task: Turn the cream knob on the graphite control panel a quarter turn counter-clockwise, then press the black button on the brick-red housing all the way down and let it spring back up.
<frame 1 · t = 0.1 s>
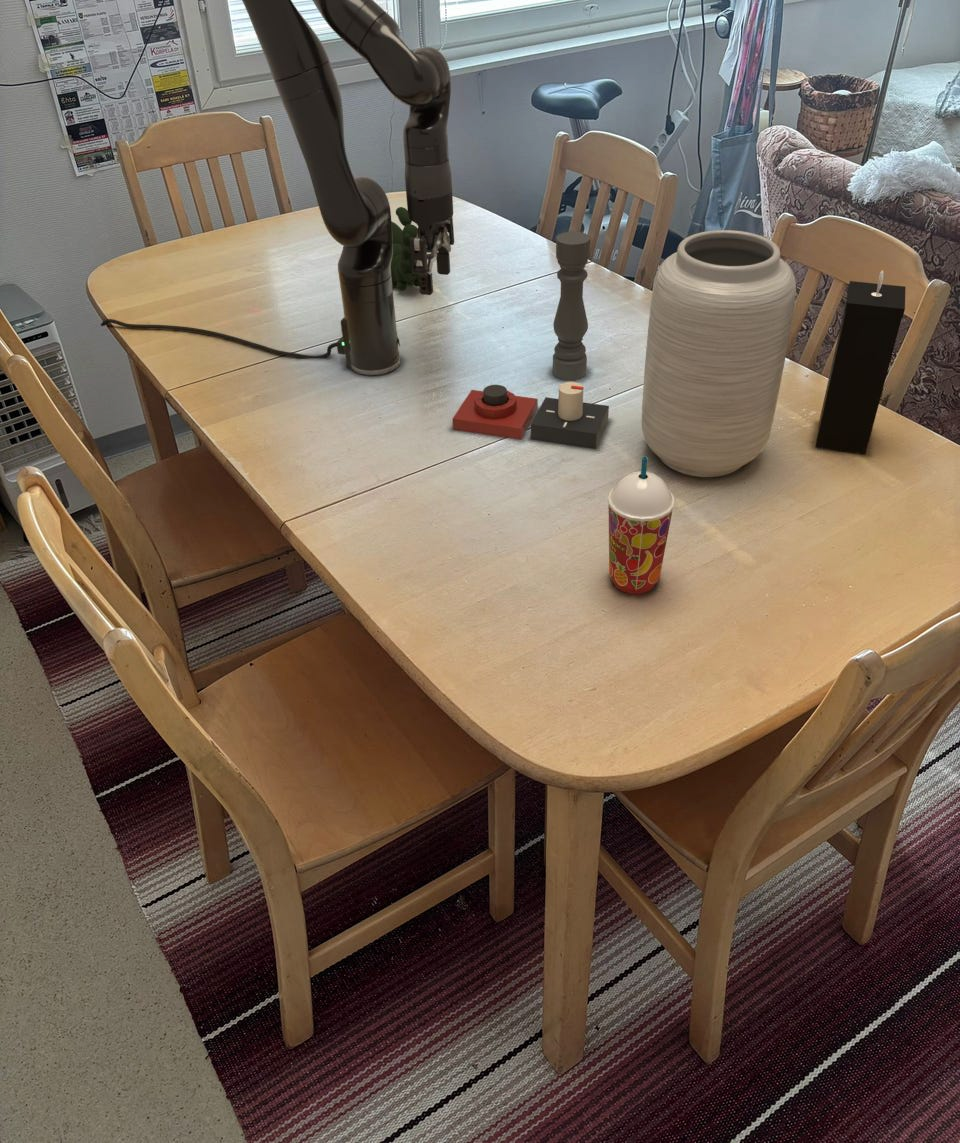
hand: (435, 283, 167), 17 cm above the table, tool pointing down, fingers open, 8 cm apart
dark green lumpy figure: (396, 280, 211), on the table
black pillar candle: (841, 440, 156), on the table
vase: (701, 453, 155), on the table
candle holder: (569, 373, 176), on the table
smoothie: (633, 582, 131), on the table
button: (495, 395, 162), point 5 cm above the table, slide at 0.1 cm
control panel: (569, 430, 161), on the table
knob: (570, 400, 158), point 6 cm above the table, hinge at 0.0°
button housing: (495, 419, 165), on the table
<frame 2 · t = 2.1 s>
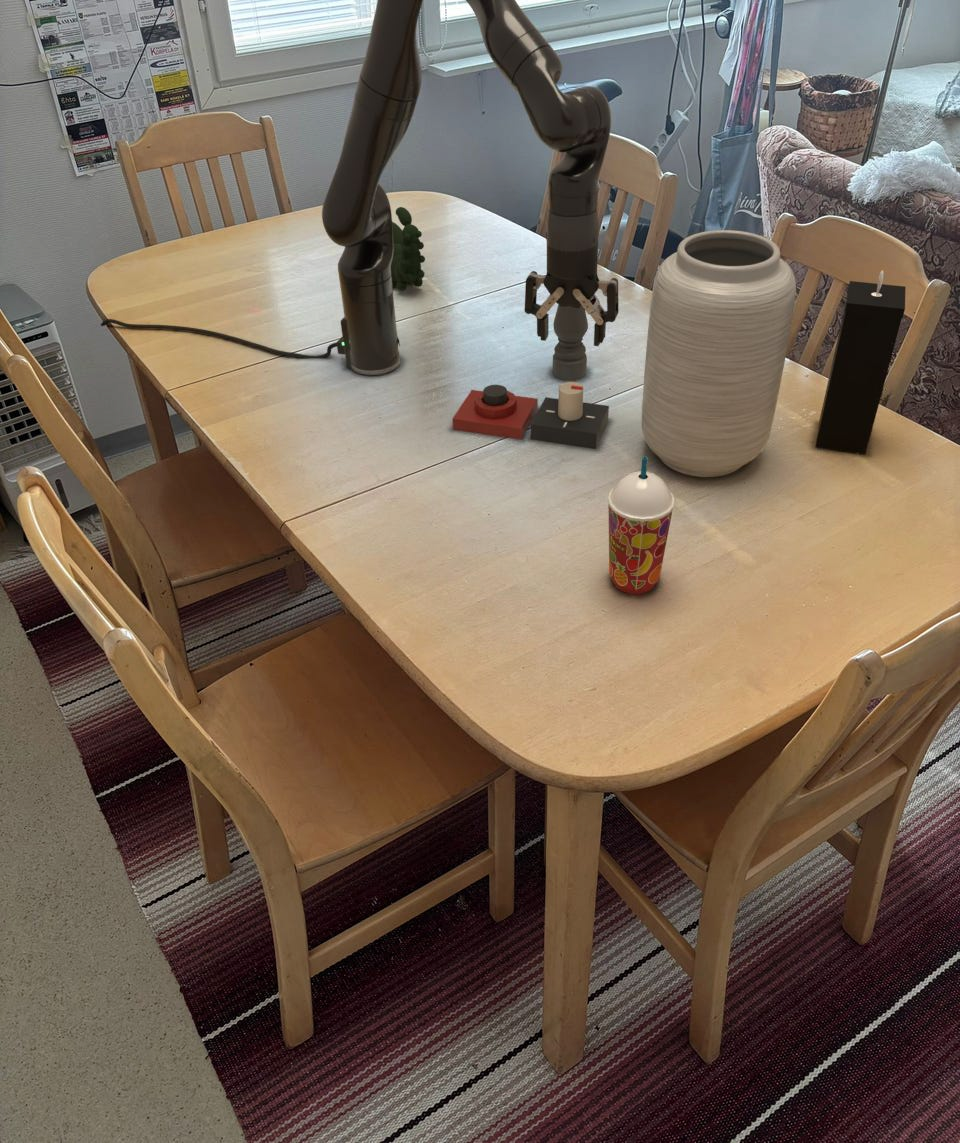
hand: (570, 341, 151), 16 cm above the table, tool pointing down, fingers open, 8 cm apart
nothing on the table moved.
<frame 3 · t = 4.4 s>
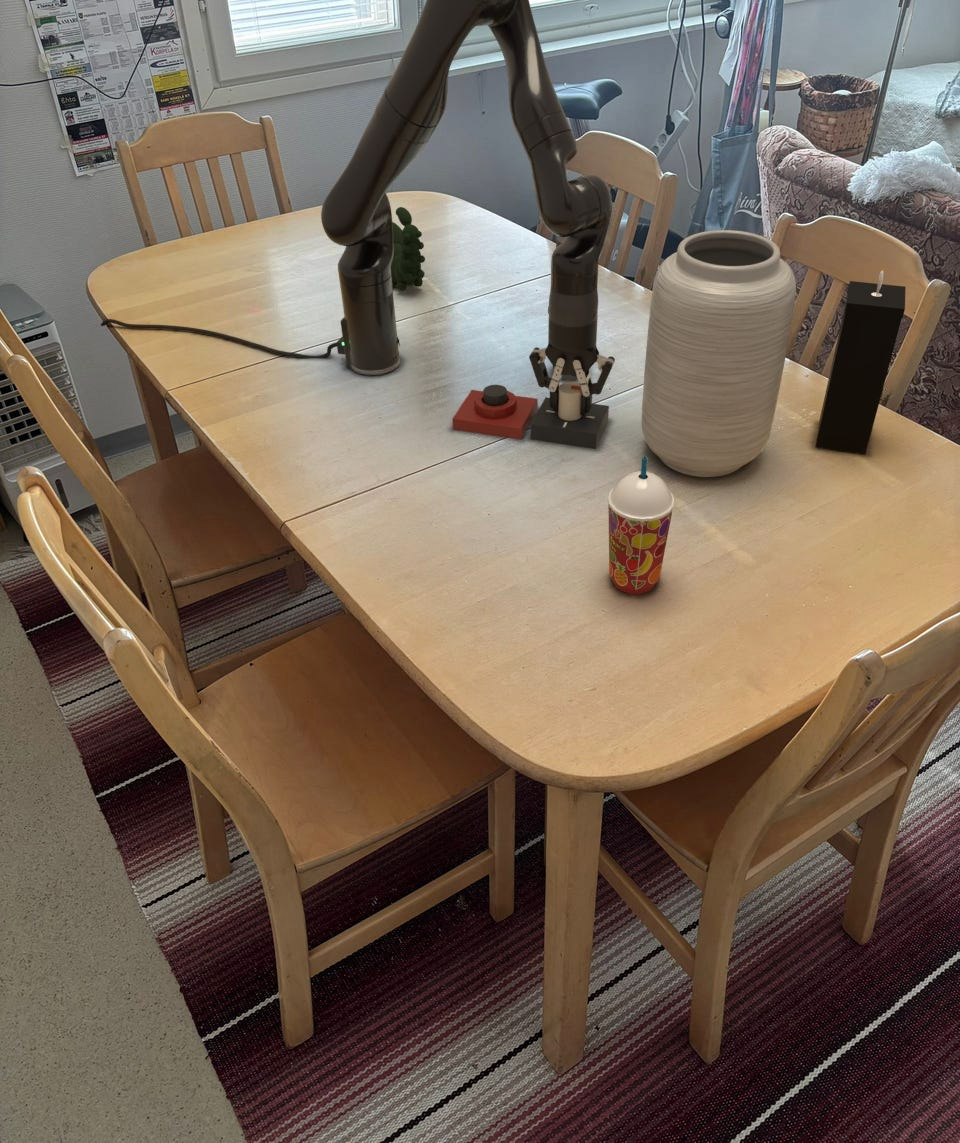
hand: (570, 410, 159), 4 cm above the table, tool pointing down, fingers closed on knob, 4 cm apart
knob: (570, 400, 158), point 6 cm above the table, hinge at -0.1°, touching gripper
everything else where it was.
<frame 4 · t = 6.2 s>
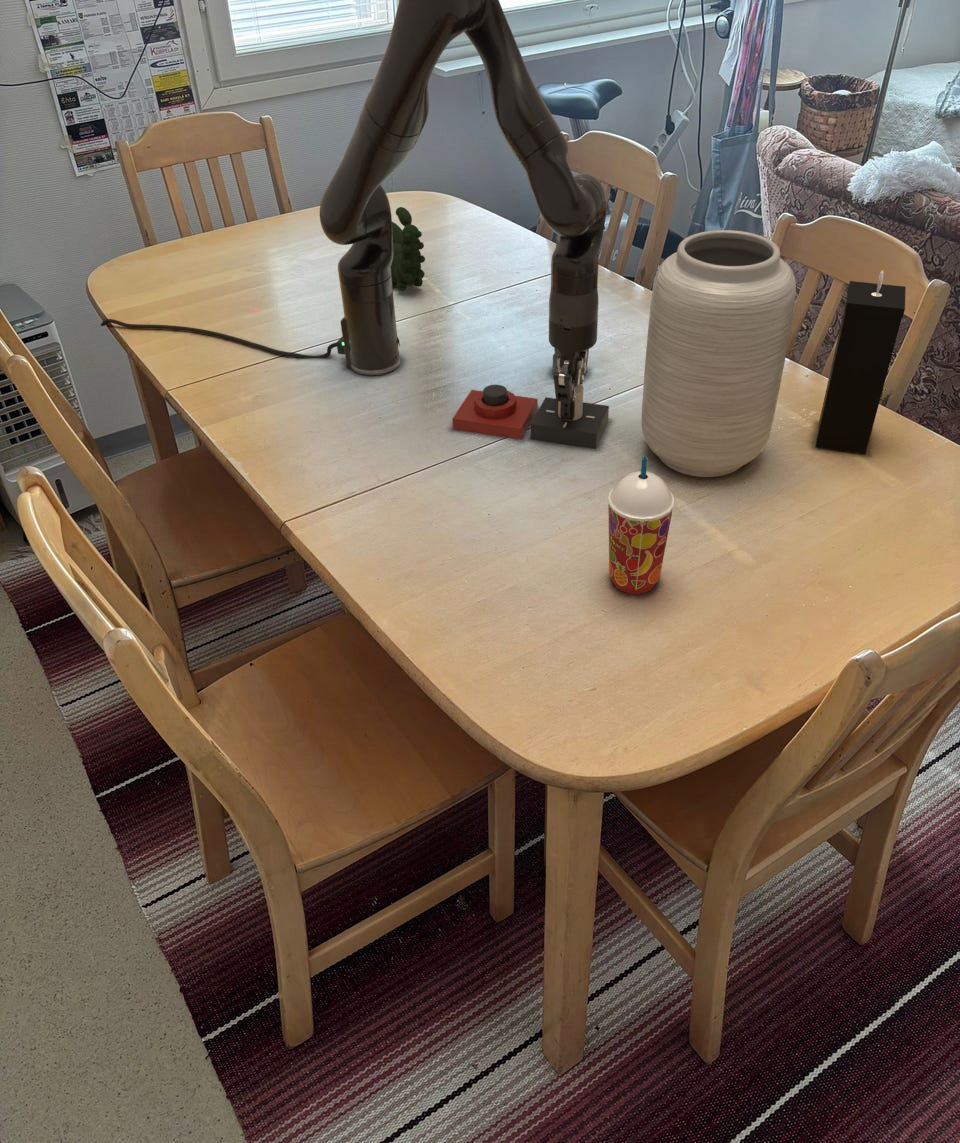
hand: (570, 411, 159), 4 cm above the table, tool pointing down, fingers closed on knob, 4 cm apart
knob: (570, 400, 158), point 6 cm above the table, hinge at 91.6°, touching gripper
everything else where it was.
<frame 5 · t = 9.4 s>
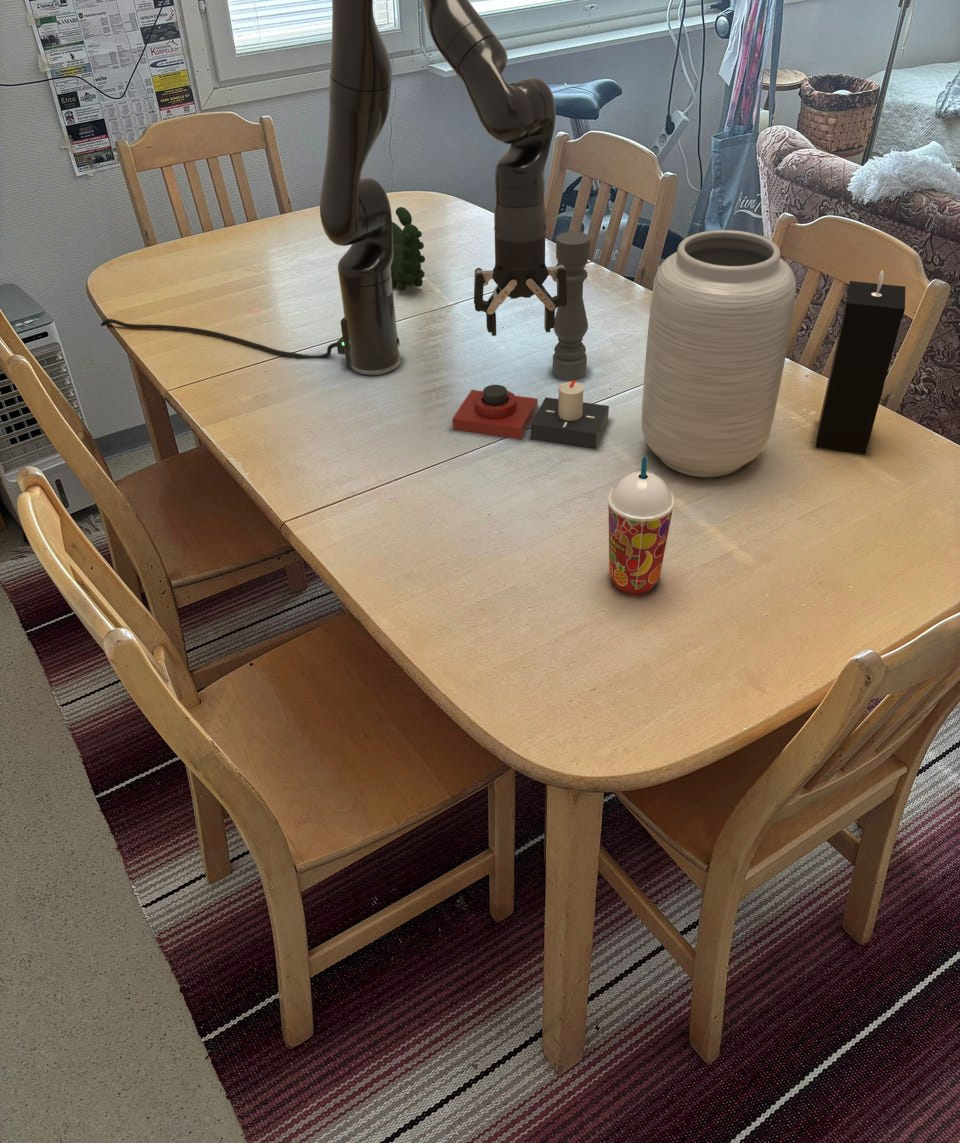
hand: (520, 331, 152), 17 cm above the table, tool pointing down, fingers open, 8 cm apart
knob: (570, 400, 158), point 6 cm above the table, hinge at 91.4°
everything else where it was.
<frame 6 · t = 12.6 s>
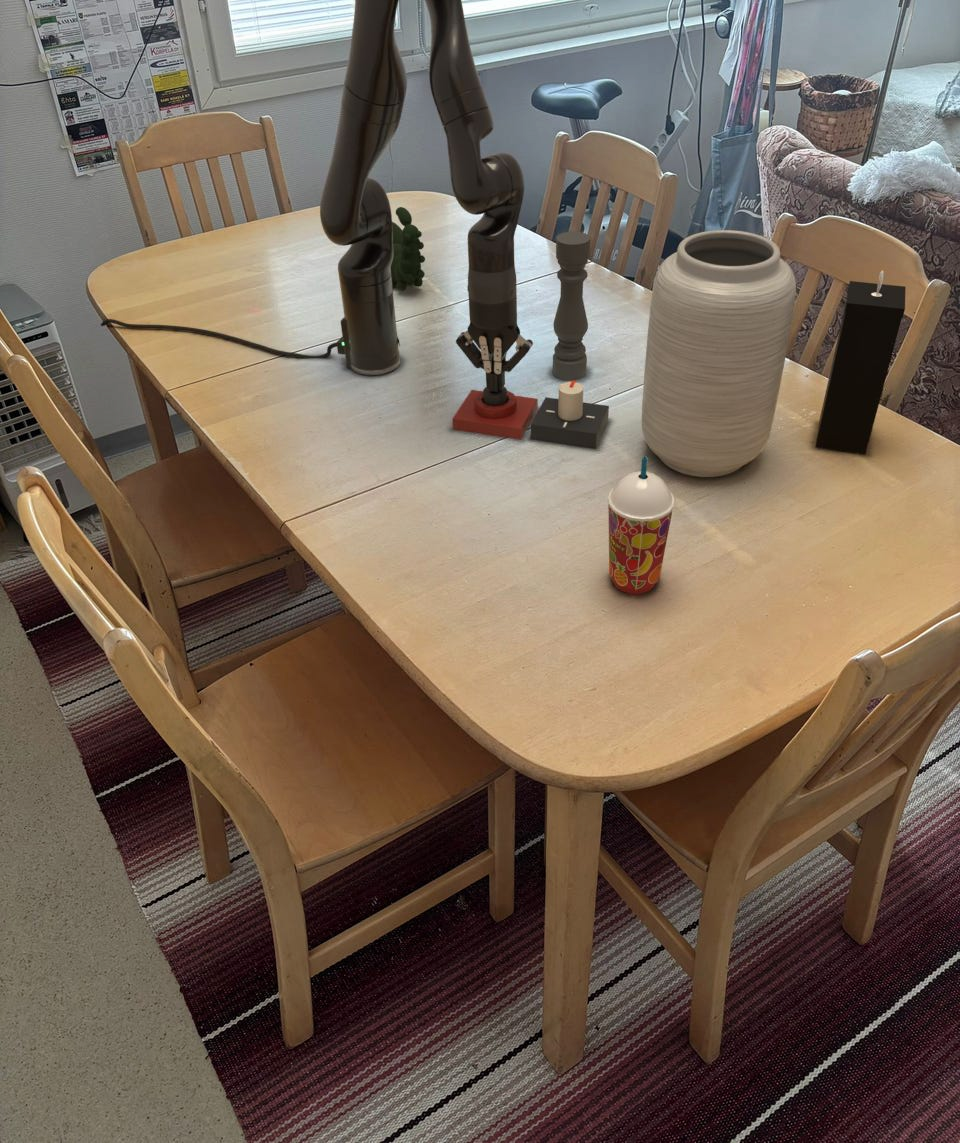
hand: (495, 390, 161), 6 cm above the table, tool pointing down, fingers closed
button: (495, 395, 162), point 5 cm above the table, slide at 0.1 cm, touching gripper
everything else where it was.
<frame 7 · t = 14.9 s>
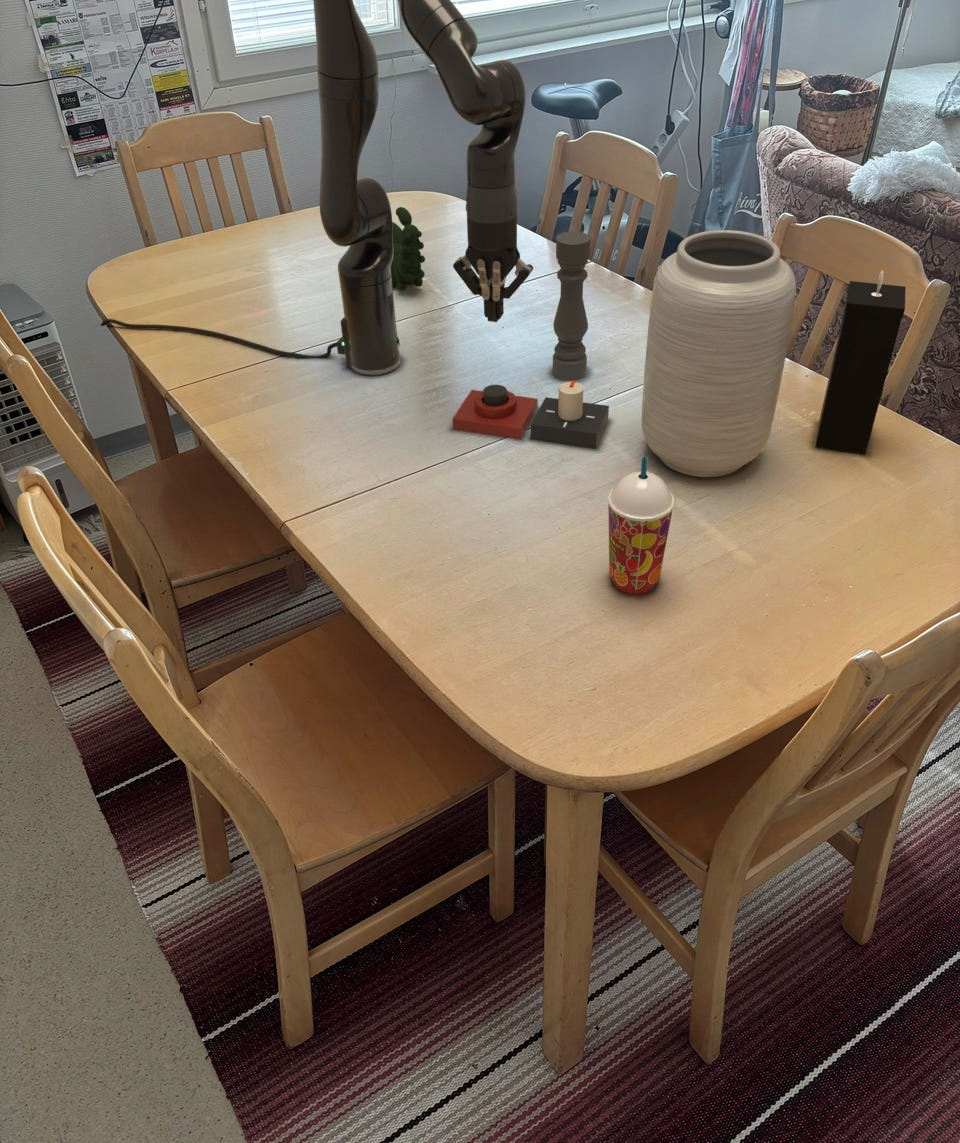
hand: (493, 319, 155), 17 cm above the table, tool pointing down, fingers closed
button: (495, 395, 162), point 5 cm above the table, slide at 0.1 cm
everything else where it was.
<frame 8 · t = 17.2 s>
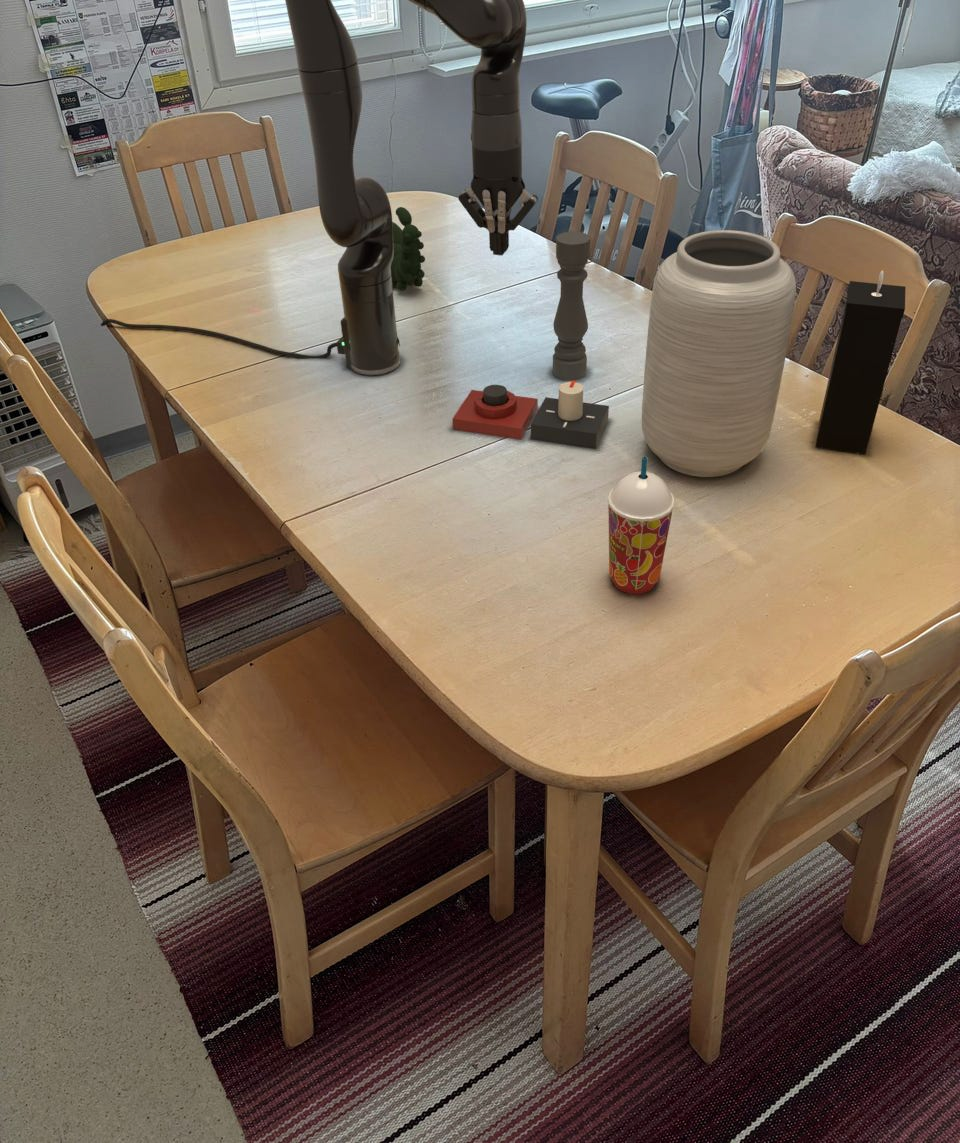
hand: (499, 253, 156), 25 cm above the table, tool pointing down, fingers closed
nothing on the table moved.
at the end: knob at +91° (first picture: +0°); button pushed in 1.1 cm at the most during the clip, back to where it started at the end; button slide at 0.1 cm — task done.
